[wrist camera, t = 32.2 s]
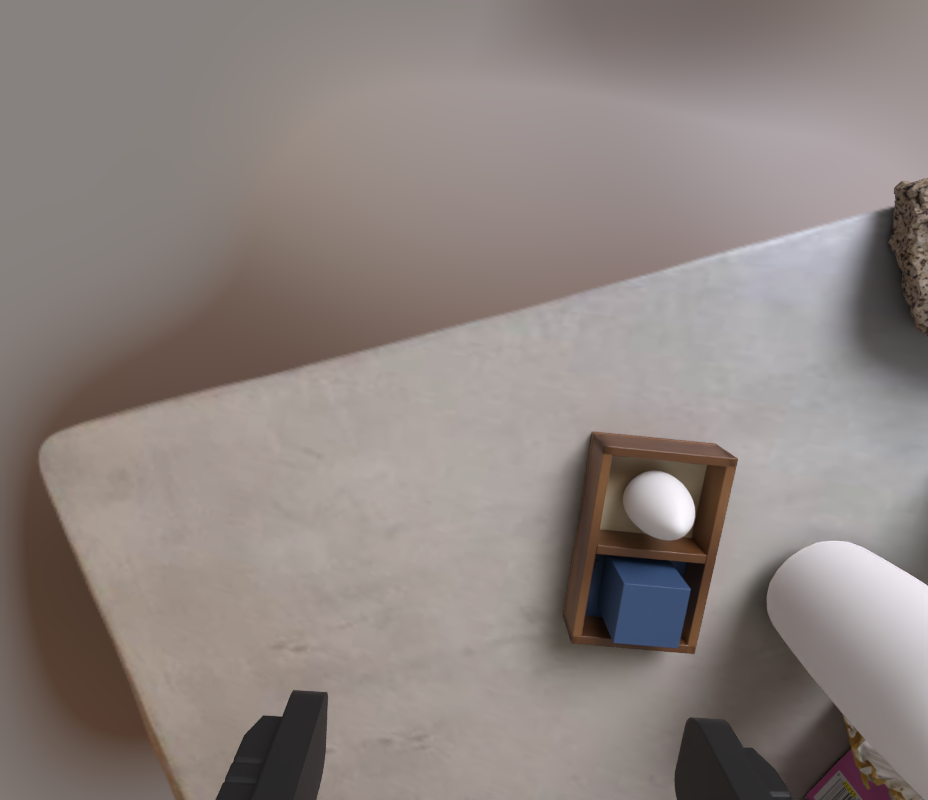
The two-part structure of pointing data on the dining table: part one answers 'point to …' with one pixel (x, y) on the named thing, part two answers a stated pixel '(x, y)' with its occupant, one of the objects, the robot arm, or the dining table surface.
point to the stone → (912, 246)
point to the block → (643, 601)
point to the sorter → (616, 534)
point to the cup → (861, 645)
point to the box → (846, 784)
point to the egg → (659, 505)
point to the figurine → (877, 767)
